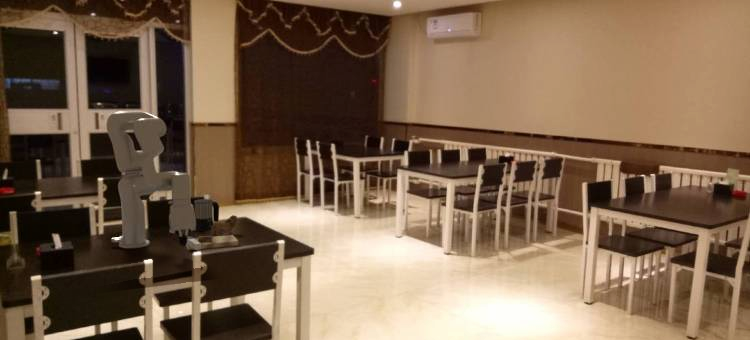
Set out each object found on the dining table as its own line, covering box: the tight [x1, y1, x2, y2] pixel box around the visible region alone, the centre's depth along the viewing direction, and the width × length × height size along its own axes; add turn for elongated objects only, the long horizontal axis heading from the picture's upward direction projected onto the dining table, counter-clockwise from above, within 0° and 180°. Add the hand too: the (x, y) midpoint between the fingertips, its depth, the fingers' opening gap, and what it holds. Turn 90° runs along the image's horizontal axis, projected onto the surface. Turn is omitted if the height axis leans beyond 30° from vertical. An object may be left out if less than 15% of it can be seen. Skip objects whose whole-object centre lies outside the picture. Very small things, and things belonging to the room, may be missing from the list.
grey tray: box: [185, 234, 239, 251], centre depth 259 cm, size 22×12×4 cm, turn 116°
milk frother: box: [194, 198, 220, 232], centre depth 290 cm, size 14×16×15 cm
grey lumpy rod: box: [187, 236, 202, 251], centre depth 247 cm, size 13×3×3 cm, turn 36°
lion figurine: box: [208, 215, 239, 236], centre depth 277 cm, size 15×5×9 cm, turn 130°
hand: (183, 244), depth 240 cm, fingers closed
